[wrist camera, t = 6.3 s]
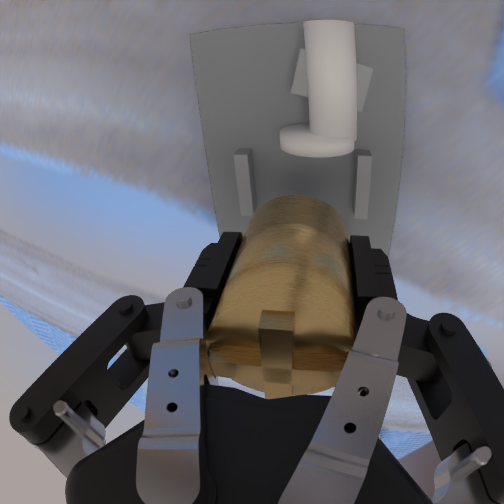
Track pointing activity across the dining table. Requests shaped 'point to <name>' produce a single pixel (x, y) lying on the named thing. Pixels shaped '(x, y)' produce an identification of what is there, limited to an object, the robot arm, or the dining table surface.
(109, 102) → the dining table surface
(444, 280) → the dining table surface
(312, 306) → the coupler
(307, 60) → the shaft rig
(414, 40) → the dining table surface
